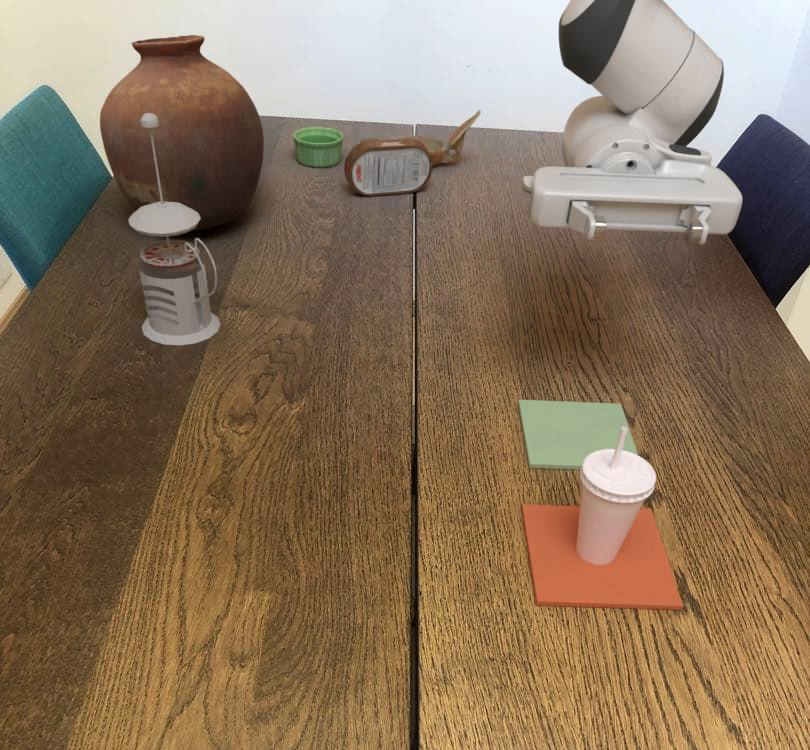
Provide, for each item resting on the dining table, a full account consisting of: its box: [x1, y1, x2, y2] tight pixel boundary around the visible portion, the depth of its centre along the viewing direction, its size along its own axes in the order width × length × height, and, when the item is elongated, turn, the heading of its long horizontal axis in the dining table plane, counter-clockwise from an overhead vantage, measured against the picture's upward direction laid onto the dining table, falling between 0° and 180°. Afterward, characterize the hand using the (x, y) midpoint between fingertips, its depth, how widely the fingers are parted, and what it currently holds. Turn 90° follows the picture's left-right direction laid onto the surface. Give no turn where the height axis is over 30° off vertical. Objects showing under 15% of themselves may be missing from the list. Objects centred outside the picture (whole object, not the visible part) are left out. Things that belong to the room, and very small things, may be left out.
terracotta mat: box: [520, 503, 684, 611], centre depth 77 cm, size 13×13×1 cm
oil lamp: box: [359, 109, 481, 167], centre depth 147 cm, size 9×21×10 cm, turn 80°
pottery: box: [99, 34, 265, 232], centre depth 119 cm, size 23×23×25 cm
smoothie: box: [576, 427, 657, 565], centre depth 72 cm, size 6×6×14 cm
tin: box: [343, 138, 434, 197], centre depth 136 cm, size 15×3×8 cm, turn 108°
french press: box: [128, 113, 221, 346], centre depth 95 cm, size 10×12×25 cm
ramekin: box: [292, 126, 344, 169], centre depth 148 cm, size 9×9×4 cm
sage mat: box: [517, 399, 639, 471], centre depth 91 cm, size 12×12×1 cm
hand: (648, 234), depth 75 cm, fingers open, 8 cm apart
